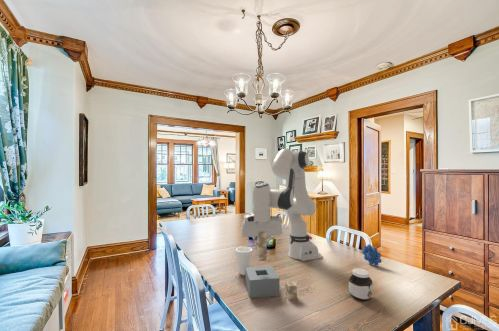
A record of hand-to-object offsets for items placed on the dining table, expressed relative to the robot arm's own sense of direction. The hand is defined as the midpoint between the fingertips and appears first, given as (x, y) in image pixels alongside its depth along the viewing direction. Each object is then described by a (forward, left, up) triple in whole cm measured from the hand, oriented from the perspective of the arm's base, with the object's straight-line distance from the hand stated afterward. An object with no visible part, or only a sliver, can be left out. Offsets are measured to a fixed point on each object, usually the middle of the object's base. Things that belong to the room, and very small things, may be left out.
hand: (261, 244), depth 116 cm
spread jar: (-44, +12, -22) cm, 51 cm away
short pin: (-12, +9, -22) cm, 26 cm away
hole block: (0, 0, -22) cm, 22 cm away
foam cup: (+6, -20, -22) cm, 30 cm away
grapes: (-72, -18, -22) cm, 77 cm away
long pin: (0, 0, -7) cm, 7 cm away
